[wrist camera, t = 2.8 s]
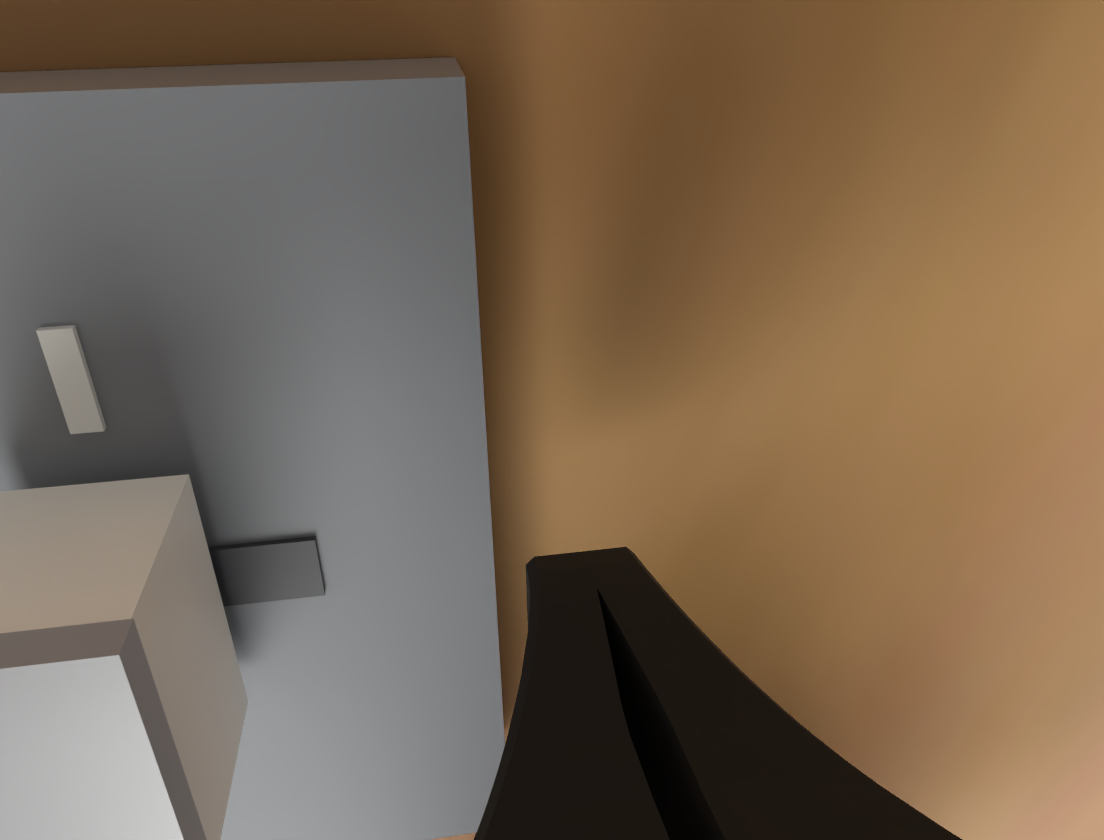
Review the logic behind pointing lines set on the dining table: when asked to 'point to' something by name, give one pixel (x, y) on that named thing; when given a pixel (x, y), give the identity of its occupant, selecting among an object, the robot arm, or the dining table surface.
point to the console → (278, 399)
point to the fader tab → (113, 666)
